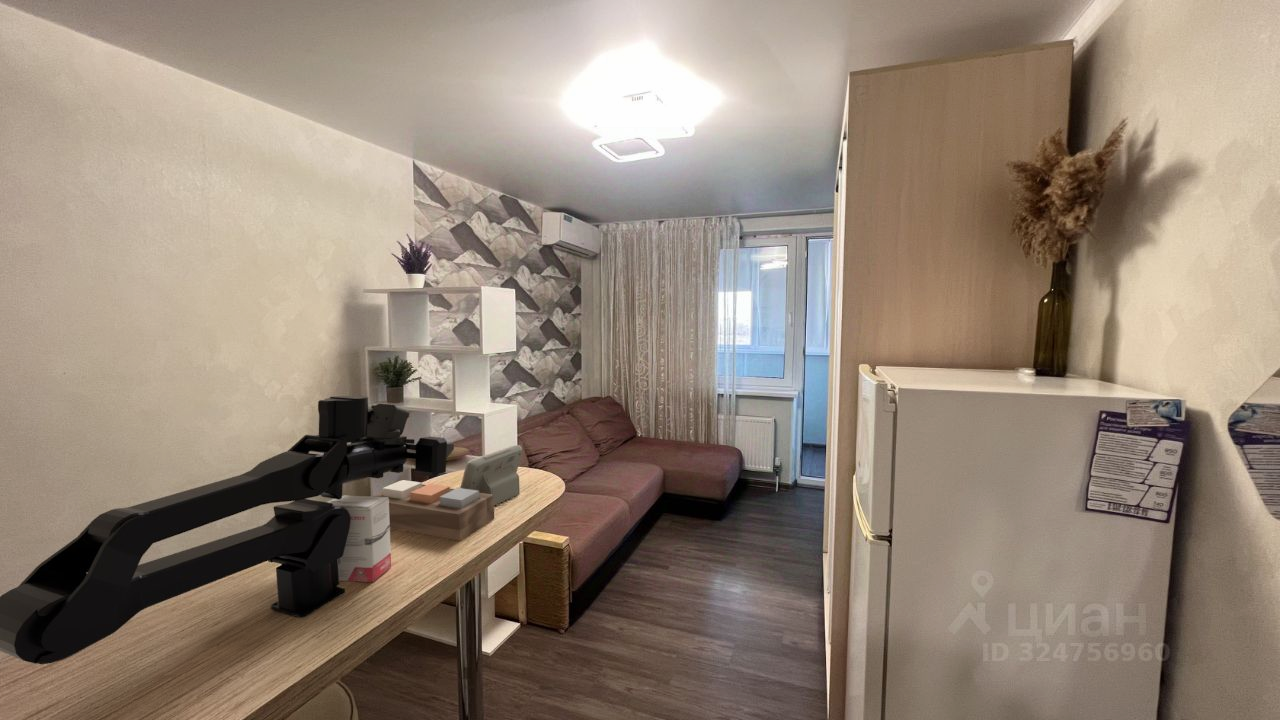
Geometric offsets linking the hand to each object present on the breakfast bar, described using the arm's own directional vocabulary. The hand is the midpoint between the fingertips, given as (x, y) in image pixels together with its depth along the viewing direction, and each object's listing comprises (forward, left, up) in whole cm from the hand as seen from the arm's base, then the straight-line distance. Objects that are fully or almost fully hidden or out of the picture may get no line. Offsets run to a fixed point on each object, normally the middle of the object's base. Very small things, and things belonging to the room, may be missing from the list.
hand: (433, 444), depth 91 cm
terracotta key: (+2, +3, -13) cm, 13 cm away
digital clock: (+16, -1, -17) cm, 23 cm away
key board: (+2, +3, -16) cm, 17 cm away
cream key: (+2, +10, -13) cm, 16 cm away
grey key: (+2, -4, -13) cm, 14 cm away
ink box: (-17, 0, -17) cm, 24 cm away
